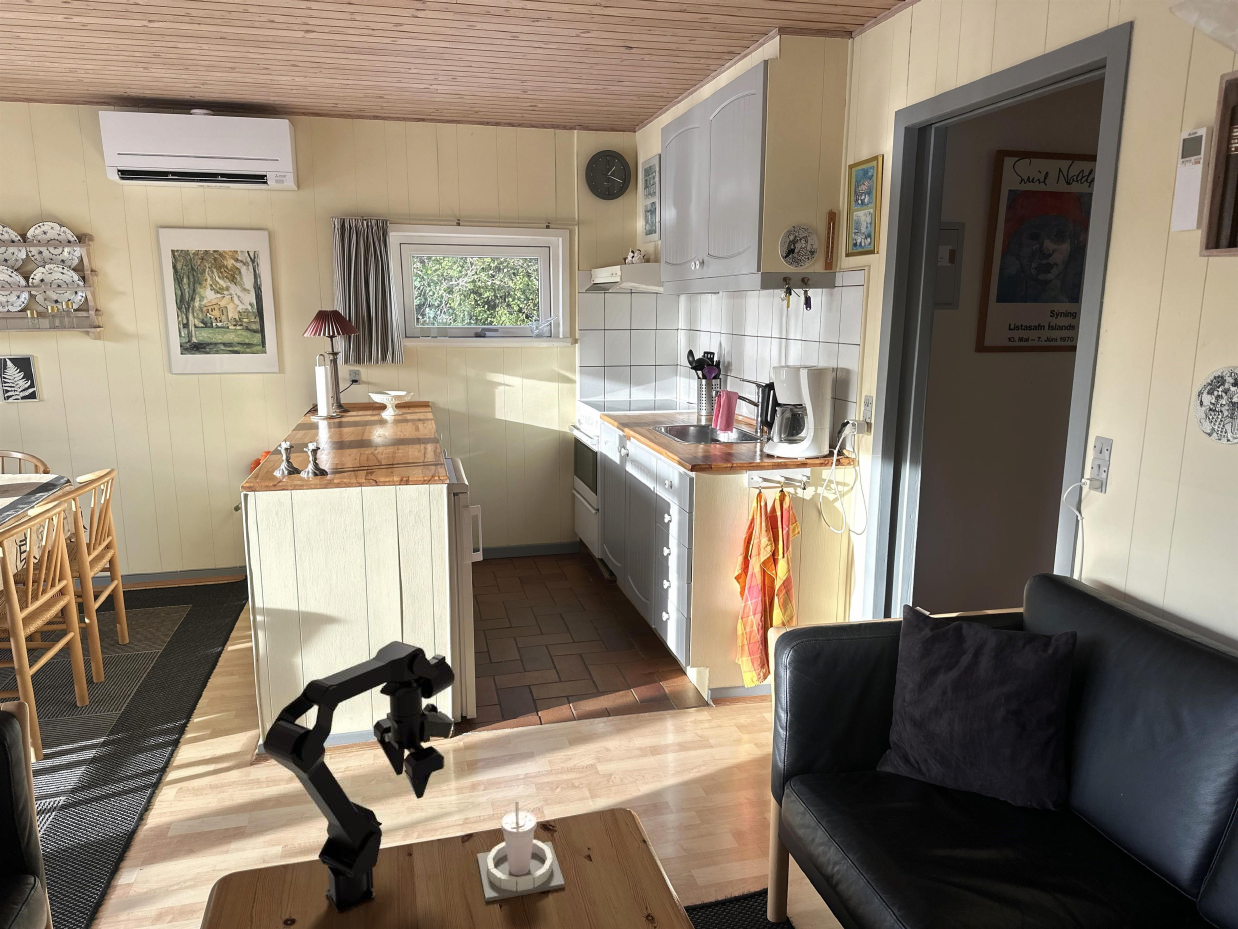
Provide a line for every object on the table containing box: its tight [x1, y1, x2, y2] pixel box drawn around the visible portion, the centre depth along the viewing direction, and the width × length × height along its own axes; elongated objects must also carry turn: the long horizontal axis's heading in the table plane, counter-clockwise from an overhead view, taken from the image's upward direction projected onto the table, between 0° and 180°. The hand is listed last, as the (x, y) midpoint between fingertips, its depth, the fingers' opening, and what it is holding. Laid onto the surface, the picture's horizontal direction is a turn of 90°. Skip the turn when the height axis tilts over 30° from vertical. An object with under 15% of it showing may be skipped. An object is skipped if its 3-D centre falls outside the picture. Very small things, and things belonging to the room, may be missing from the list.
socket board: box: [476, 838, 566, 902], centre depth 156 cm, size 14×12×3 cm
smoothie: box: [500, 799, 538, 875], centre depth 155 cm, size 6×6×14 cm
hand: (409, 785), depth 160 cm, fingers open, 9 cm apart
